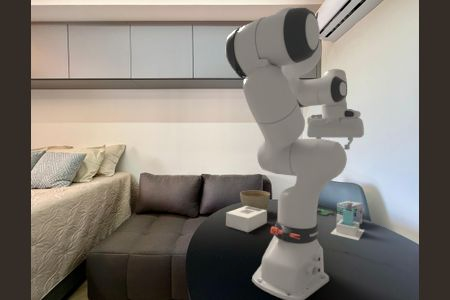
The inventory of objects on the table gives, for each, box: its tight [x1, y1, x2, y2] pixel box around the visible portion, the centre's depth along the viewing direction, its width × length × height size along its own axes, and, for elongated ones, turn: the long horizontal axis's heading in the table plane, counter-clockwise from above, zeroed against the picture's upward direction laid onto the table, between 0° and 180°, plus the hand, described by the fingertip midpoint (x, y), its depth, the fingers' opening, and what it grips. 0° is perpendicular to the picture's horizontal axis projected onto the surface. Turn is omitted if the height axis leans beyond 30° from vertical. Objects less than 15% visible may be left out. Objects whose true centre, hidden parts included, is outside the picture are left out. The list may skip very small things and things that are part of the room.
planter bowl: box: [239, 189, 271, 210], centre depth 126 cm, size 16×16×11 cm
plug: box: [343, 204, 353, 227], centre depth 96 cm, size 4×3×12 cm
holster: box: [330, 219, 365, 241], centre depth 96 cm, size 14×10×5 cm
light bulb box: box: [336, 200, 364, 225], centre depth 108 cm, size 11×7×11 cm, turn 123°
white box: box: [225, 206, 268, 233], centre depth 108 cm, size 16×12×6 cm
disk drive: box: [317, 207, 334, 217], centre depth 126 cm, size 10×3×15 cm
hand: (333, 149), depth 92 cm, fingers open, 8 cm apart
